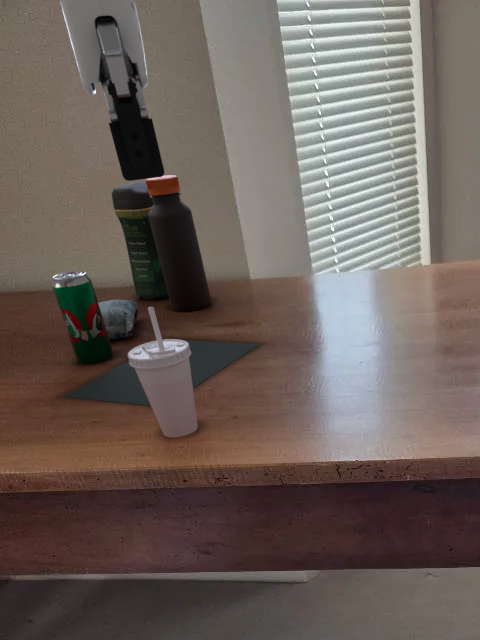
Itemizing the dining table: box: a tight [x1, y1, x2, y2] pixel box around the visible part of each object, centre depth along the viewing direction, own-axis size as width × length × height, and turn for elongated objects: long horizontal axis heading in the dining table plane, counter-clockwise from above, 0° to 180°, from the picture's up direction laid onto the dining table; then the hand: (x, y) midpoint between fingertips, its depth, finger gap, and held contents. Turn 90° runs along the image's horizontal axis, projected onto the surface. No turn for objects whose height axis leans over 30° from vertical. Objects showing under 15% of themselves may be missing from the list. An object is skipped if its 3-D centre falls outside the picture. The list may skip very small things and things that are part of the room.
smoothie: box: [127, 306, 199, 438], centre depth 77 cm, size 6×6×14 cm
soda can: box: [51, 270, 115, 365], centre depth 101 cm, size 5×5×12 cm
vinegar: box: [145, 174, 212, 312], centre depth 119 cm, size 7×7×20 cm
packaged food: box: [98, 298, 139, 341], centre depth 113 cm, size 9×12×5 cm
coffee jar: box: [111, 180, 169, 300], centre depth 129 cm, size 10×8×19 cm
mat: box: [62, 339, 260, 407], centre depth 98 cm, size 16×22×1 cm
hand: (143, 172), depth 62 cm, fingers open, 9 cm apart
